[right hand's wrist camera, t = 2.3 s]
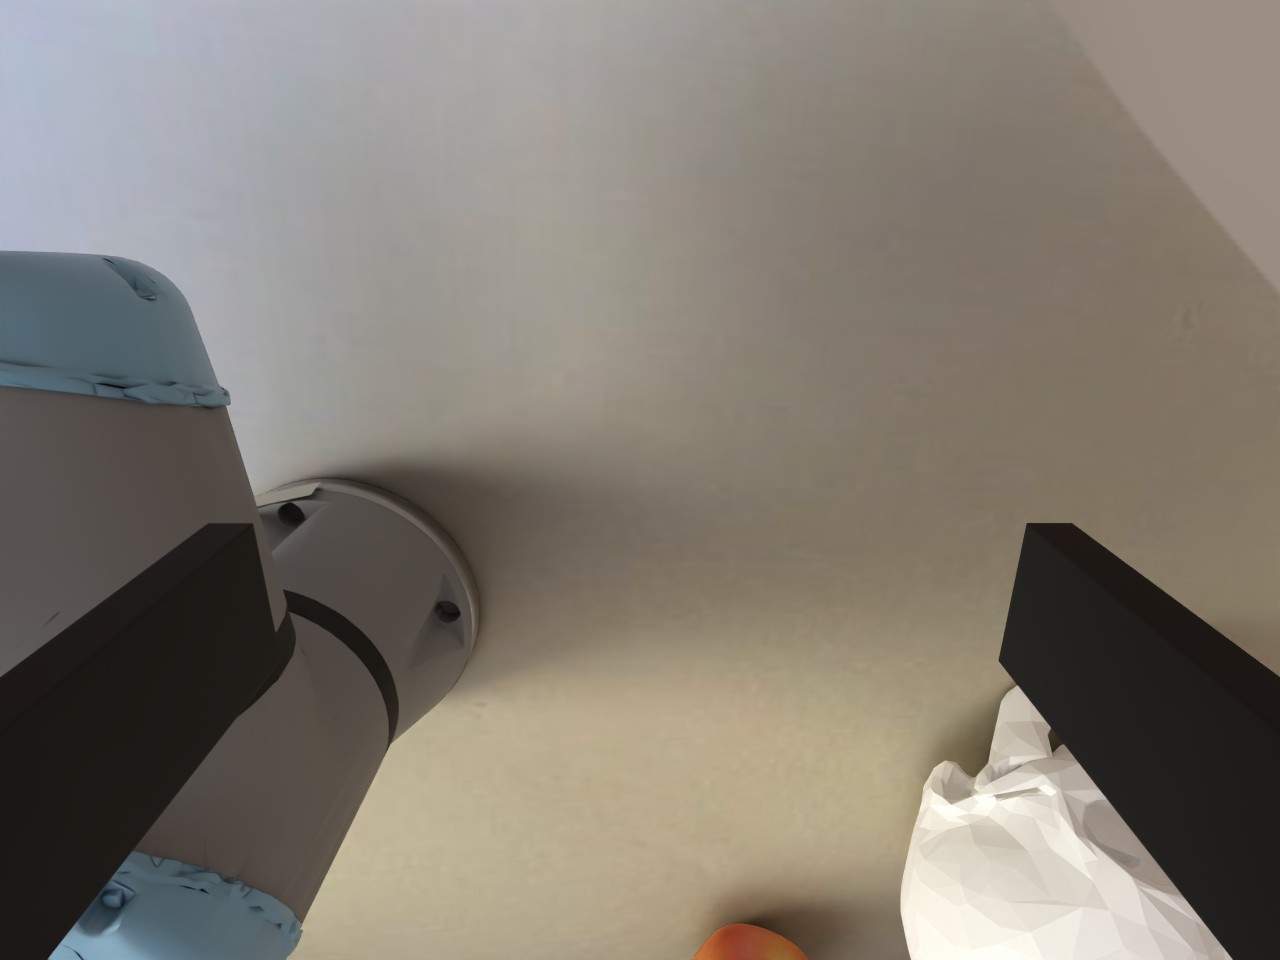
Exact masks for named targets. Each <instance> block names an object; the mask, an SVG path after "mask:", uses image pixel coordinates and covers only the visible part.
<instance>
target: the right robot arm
mask: <svg viewBox="0 0 1280 960" xmlns="http://www.w3.org/2000/svg"><path fill="white" fill-rule="evenodd" d="M230 404H231V401H230V395H229V392H228V391H227V390H226V389H224V388H223V387H221V386H220V385H219V384H218V382H217V379H216V376H215V373H214V371H213V368H212V365H211V363H210V360H209V357H208V354H207V352H206V349H205V346H204V344H203V341H202V338H201V336H200V333H199V330H198V327H197V325H196V322H195V319H194V317H193V314H192V311H191V309H190V306H189V305H188V303H187V301H186V299H185V297H184V296H183V294H182V293H181V292H180V290H179V289H178V288H177V287H176V286H175V285H174V284H173V283H172V282H171V281H170V280H169V279H168V278H167V277H165V276H164V275H163V274H161V273H160V272H158V271H156V270H155V269H153V268H151V267H149V266H147V265H145V264H142V263H140V262H137V261H133V260H129V259H125V258H122V257H116V256H106V255H92V254H76V253H54V252H27V251H0V960H285V959H286V958H287V956H289V955H290V954H291V953H292V952H293V951H294V949H295V948H296V946H297V944H298V942H299V940H300V937H301V933H302V932H303V931H302V930H301V929H300V928H301V926H302V923H303V921H304V919H305V917H306V915H307V913H308V911H309V909H310V907H311V905H312V903H313V901H314V899H315V897H316V895H317V893H318V891H319V889H320V886H321V884H322V882H323V880H324V878H325V876H326V874H327V872H328V870H329V868H330V866H331V864H332V862H333V860H334V858H335V856H336V854H337V852H338V850H339V848H340V846H341V844H342V842H343V840H344V838H345V836H346V834H347V832H348V830H349V828H350V826H351V824H352V822H353V820H354V818H355V816H356V813H357V811H358V809H359V807H360V805H361V803H362V801H363V799H364V797H365V795H366V793H367V791H368V789H369V787H370V785H371V783H372V781H373V779H374V777H375V775H376V773H377V771H378V769H379V767H380V765H381V762H382V760H383V758H384V756H385V754H386V752H387V750H388V748H389V746H390V744H391V743H392V742H393V741H395V740H396V739H397V738H398V737H399V736H400V735H402V734H403V733H404V732H405V731H406V730H407V729H409V728H410V727H411V726H412V725H413V724H414V723H416V722H417V721H418V720H419V719H420V718H422V717H423V716H424V715H425V714H426V713H427V712H429V711H430V710H431V709H432V708H433V707H434V706H436V705H437V704H438V703H439V702H440V701H441V700H442V699H443V698H444V697H445V695H446V694H447V693H448V692H449V691H450V690H451V689H452V687H453V686H454V685H455V683H456V682H457V681H458V679H459V678H460V676H461V674H462V672H463V670H464V668H465V666H466V664H467V662H468V659H469V657H470V654H471V652H472V649H473V647H474V644H475V641H476V638H477V634H478V628H479V619H480V608H479V598H478V593H477V588H476V584H475V581H474V578H473V575H472V573H471V570H470V568H469V566H468V563H467V562H466V560H465V558H464V556H463V554H462V553H461V551H460V550H459V548H458V547H457V545H456V544H455V542H454V541H453V540H452V539H451V538H450V536H449V535H448V534H447V533H446V532H445V531H444V530H443V529H442V528H441V527H440V526H439V525H438V524H437V522H435V521H434V520H433V519H432V518H431V517H429V516H428V515H427V514H426V513H425V512H423V511H422V510H420V509H419V508H418V507H416V506H415V505H413V504H411V503H410V502H408V501H406V500H405V499H403V498H401V497H399V496H397V495H395V494H393V493H391V492H388V491H386V490H383V489H380V488H378V487H375V486H371V485H368V484H364V483H360V482H355V481H350V480H342V479H310V480H303V481H298V482H293V483H290V484H286V485H283V486H280V487H278V488H275V489H273V490H270V491H268V492H267V493H265V494H263V495H258V496H254V495H253V492H252V489H251V486H250V482H249V479H248V476H247V473H246V470H245V466H244V463H243V460H242V457H241V453H240V450H239V447H238V444H237V441H236V437H235V434H234V431H233V428H232V424H231V421H230V418H229V415H228V412H227V408H226V405H230ZM999 662H1000V663H1001V665H1002V666H1003V667H1004V669H1005V670H1006V671H1007V672H1008V674H1009V675H1010V676H1011V677H1012V679H1013V680H1014V681H1015V683H1016V684H1017V685H1018V686H1019V688H1020V689H1021V690H1022V691H1023V693H1024V694H1025V695H1026V697H1027V698H1028V699H1029V700H1030V702H1031V703H1032V704H1033V706H1034V707H1035V708H1036V709H1037V711H1038V712H1039V713H1040V714H1041V716H1042V717H1043V718H1044V720H1045V721H1046V722H1047V723H1048V725H1049V726H1050V727H1051V728H1052V730H1053V731H1054V732H1055V734H1056V735H1057V736H1058V737H1059V739H1060V740H1061V741H1062V743H1063V744H1064V745H1065V746H1066V748H1067V749H1068V750H1069V751H1070V753H1071V754H1072V755H1073V757H1074V758H1075V759H1076V760H1077V762H1078V763H1079V764H1080V765H1081V767H1082V768H1083V769H1084V771H1085V772H1086V773H1087V774H1088V776H1089V777H1090V778H1091V780H1092V781H1093V782H1094V783H1095V785H1096V786H1097V787H1098V788H1099V790H1100V791H1101V792H1102V794H1103V795H1104V796H1105V797H1106V799H1107V800H1108V801H1109V802H1110V804H1111V805H1112V806H1113V808H1114V809H1115V810H1116V811H1117V813H1118V814H1119V815H1120V817H1121V818H1122V819H1123V820H1124V822H1125V823H1126V824H1127V825H1128V827H1129V828H1130V829H1131V831H1132V832H1133V833H1134V834H1135V836H1136V837H1137V838H1138V839H1139V841H1140V842H1141V843H1142V845H1143V846H1144V847H1145V848H1146V850H1147V851H1148V852H1149V854H1150V855H1151V856H1152V857H1153V859H1154V860H1155V861H1156V862H1157V864H1158V865H1159V866H1160V868H1161V869H1162V870H1163V871H1164V873H1165V874H1166V875H1167V877H1168V878H1169V879H1170V880H1171V882H1172V883H1173V884H1174V885H1175V887H1176V888H1177V889H1178V891H1179V892H1180V893H1181V894H1182V896H1183V897H1184V898H1185V899H1186V901H1187V902H1188V903H1189V905H1190V906H1191V907H1192V908H1193V910H1194V911H1195V912H1196V914H1197V915H1198V916H1199V917H1200V919H1201V920H1202V921H1203V922H1204V924H1205V925H1206V926H1207V928H1208V929H1209V930H1210V931H1211V933H1212V934H1213V935H1214V936H1215V938H1216V939H1217V940H1218V942H1219V943H1220V944H1221V945H1222V947H1223V948H1224V949H1225V951H1226V952H1227V953H1228V954H1229V956H1230V957H1231V958H1232V959H1233V960H1280V677H1279V676H1278V675H1276V674H1275V673H1274V672H1272V671H1271V670H1270V669H1268V668H1267V667H1265V666H1264V665H1263V664H1261V663H1260V662H1259V661H1257V660H1256V659H1255V658H1253V657H1252V656H1251V655H1249V654H1248V653H1247V652H1245V651H1244V650H1242V649H1241V648H1240V647H1238V646H1237V645H1236V644H1234V643H1233V642H1232V641H1230V640H1229V639H1228V638H1226V637H1225V636H1224V635H1222V634H1221V633H1220V632H1218V631H1217V630H1215V629H1214V628H1213V627H1211V626H1210V625H1209V624H1207V623H1206V622H1205V621H1203V620H1202V619H1201V618H1199V617H1198V616H1197V615H1195V614H1194V613H1193V612H1191V611H1190V610H1188V609H1187V608H1186V607H1184V606H1183V605H1182V604H1180V603H1179V602H1178V601H1176V600H1175V599H1174V598H1172V597H1171V596H1170V595H1168V594H1167V593H1166V592H1164V591H1163V590H1161V589H1160V588H1159V587H1157V586H1156V585H1155V584H1153V583H1152V582H1151V581H1149V580H1148V579H1147V578H1145V577H1144V576H1143V575H1141V574H1140V573H1139V572H1137V571H1136V570H1134V569H1133V568H1132V567H1130V566H1129V565H1128V564H1126V563H1125V562H1124V561H1122V560H1121V559H1120V558H1118V557H1117V556H1116V555H1114V554H1113V553H1111V552H1110V551H1109V550H1107V549H1106V548H1105V547H1103V546H1102V545H1101V544H1099V543H1098V542H1097V541H1095V540H1094V539H1093V538H1091V537H1090V536H1089V535H1087V534H1086V533H1084V532H1083V531H1082V530H1080V529H1079V528H1078V527H1076V526H1075V525H1074V524H1072V523H1027V524H1026V529H1025V534H1024V539H1023V544H1022V549H1021V554H1020V559H1019V563H1018V568H1017V573H1016V578H1015V583H1014V588H1013V593H1012V598H1011V602H1010V607H1009V612H1008V617H1007V622H1006V627H1005V632H1004V637H1003V642H1002V646H1001V651H1000V656H999Z"/></svg>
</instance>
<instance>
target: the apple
mask: <svg viewBox="0 0 1280 960" xmlns="http://www.w3.org/2000/svg"><path fill="white" fill-rule="evenodd" d="M693 960H809V959H808V958H807V957H806V955H805V954H804V953H803V952H802V951H801V950H800V949H799V948H798V947H797V946H796V945H795V944H794V943H792V942H791V941H790V940H788V939H786V938H785V937H783V936H781V935H779V934H776V933H774V932H772V931H769V930H767V929H764V928H761V927H758V926H754V925H749V924H743V923H732V924H728V925H725V926H723V927H721V928H719V929H718V930H716V931H715V932H714V933H713V934H712V935H711V936H710V937H709V938H708V939H707V940H706V941H705V943H704V944H703V945H702V946H701V947H700V949H699V950H698V952H697V953H696V955H695V956H694V958H693Z"/></svg>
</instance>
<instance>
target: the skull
mask: <svg viewBox="0 0 1280 960" xmlns="http://www.w3.org/2000/svg"><path fill="white" fill-rule="evenodd" d="M1050 729H1051V727H1050V726H1049V725H1048V723H1047V722H1046V721H1045V720H1044V718H1043V717H1042V716H1041V714H1040V713H1039V712H1038V711H1037V709H1036V708H1035V707H1034V706H1033V704H1032V703H1031V702H1030V700H1029V699H1028V698H1027V697H1026V695H1025V694H1024V693H1023V691H1022V690H1021V689H1020V688H1019V686H1018V685H1017V686H1016V687H1014V688H1013V689H1012V690H1010V691H1009V692H1007V694H1006V695H1005V697H1004V698H1003V700H1002V701H1001V705H1000V709H999V714H998V719H997V723H996V727H995V732H994V736H993V741H992V745H991V750H990V756H989V762H988V764H987V765H986V766H985V767H984V768H983V769H982V770H981V771H980V773H979V774H978V775H977V776H976V777H974V778H973V777H971V776H969V775H967V774H966V773H965V772H964V771H963V770H962V768H961V767H960V766H959V765H958V764H957V763H956V762H952V761H946V760H945V761H944V762H942V763H941V764H939V765H938V766H936V767H935V768H934V769H933V771H932V773H931V775H930V776H929V778H928V780H927V782H926V783H925V785H924V787H923V796H922V803H921V807H920V810H919V814H918V817H917V820H916V823H915V826H914V829H913V834H912V838H911V843H910V847H909V852H908V856H907V861H906V865H905V870H904V874H903V879H902V885H901V916H902V921H903V926H904V931H905V936H906V941H907V946H908V950H909V954H910V957H911V960H1233V959H1232V958H1231V957H1230V956H1229V954H1228V953H1227V952H1226V951H1225V949H1224V948H1223V947H1222V945H1221V944H1220V943H1219V942H1218V940H1217V939H1216V938H1215V936H1214V935H1213V934H1212V933H1211V931H1210V930H1209V929H1208V928H1207V926H1206V925H1205V924H1204V922H1203V921H1202V920H1201V919H1200V917H1199V916H1198V915H1197V914H1196V912H1195V911H1194V910H1193V908H1192V907H1191V906H1190V905H1189V903H1188V902H1187V901H1186V899H1185V898H1184V897H1183V896H1182V894H1181V893H1180V892H1179V891H1178V889H1177V888H1176V887H1175V885H1174V884H1173V883H1172V882H1171V880H1170V879H1169V878H1168V877H1167V875H1166V874H1165V873H1164V871H1163V870H1162V869H1161V868H1160V866H1159V865H1158V864H1157V862H1156V861H1155V860H1154V859H1153V857H1152V856H1151V855H1150V854H1149V852H1148V851H1147V850H1146V848H1145V847H1144V846H1143V845H1142V843H1141V842H1140V841H1139V839H1138V838H1137V837H1136V836H1135V834H1134V833H1133V832H1132V831H1131V829H1130V828H1129V827H1128V825H1127V824H1126V823H1125V822H1124V820H1123V819H1122V818H1121V817H1120V815H1119V814H1118V813H1117V811H1116V810H1115V809H1114V808H1113V806H1112V805H1111V804H1110V802H1109V801H1108V800H1107V799H1106V797H1105V796H1104V795H1103V794H1102V792H1101V791H1100V790H1099V788H1098V787H1097V786H1096V785H1095V783H1094V782H1093V781H1092V780H1091V778H1090V777H1089V776H1088V774H1087V773H1086V772H1085V771H1084V769H1083V768H1082V767H1081V765H1080V764H1079V763H1078V762H1077V760H1076V759H1075V758H1074V757H1073V755H1072V754H1071V753H1070V751H1069V750H1068V749H1067V748H1066V746H1065V745H1064V744H1063V745H1061V746H1059V747H1058V748H1057V749H1056V750H1055V751H1054V752H1053V753H1052V751H1051V747H1050V743H1049V739H1048V733H1049V731H1050ZM1020 765H1021V766H1020ZM1019 766H1020V767H1019Z"/></svg>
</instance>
